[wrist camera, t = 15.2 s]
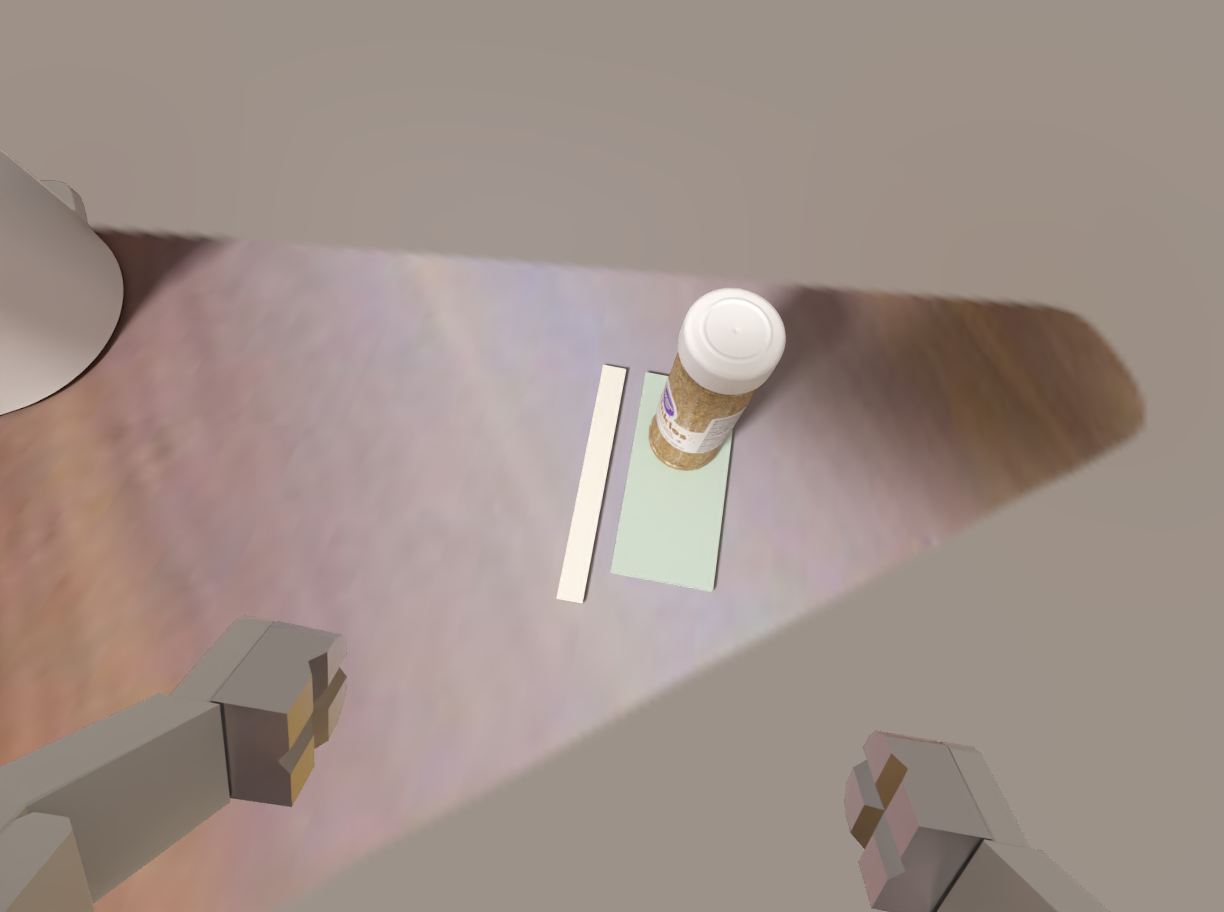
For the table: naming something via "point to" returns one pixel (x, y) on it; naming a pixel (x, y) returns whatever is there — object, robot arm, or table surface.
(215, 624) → the table surface
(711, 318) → the sprinkles bottle
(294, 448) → the table surface
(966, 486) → the table surface
